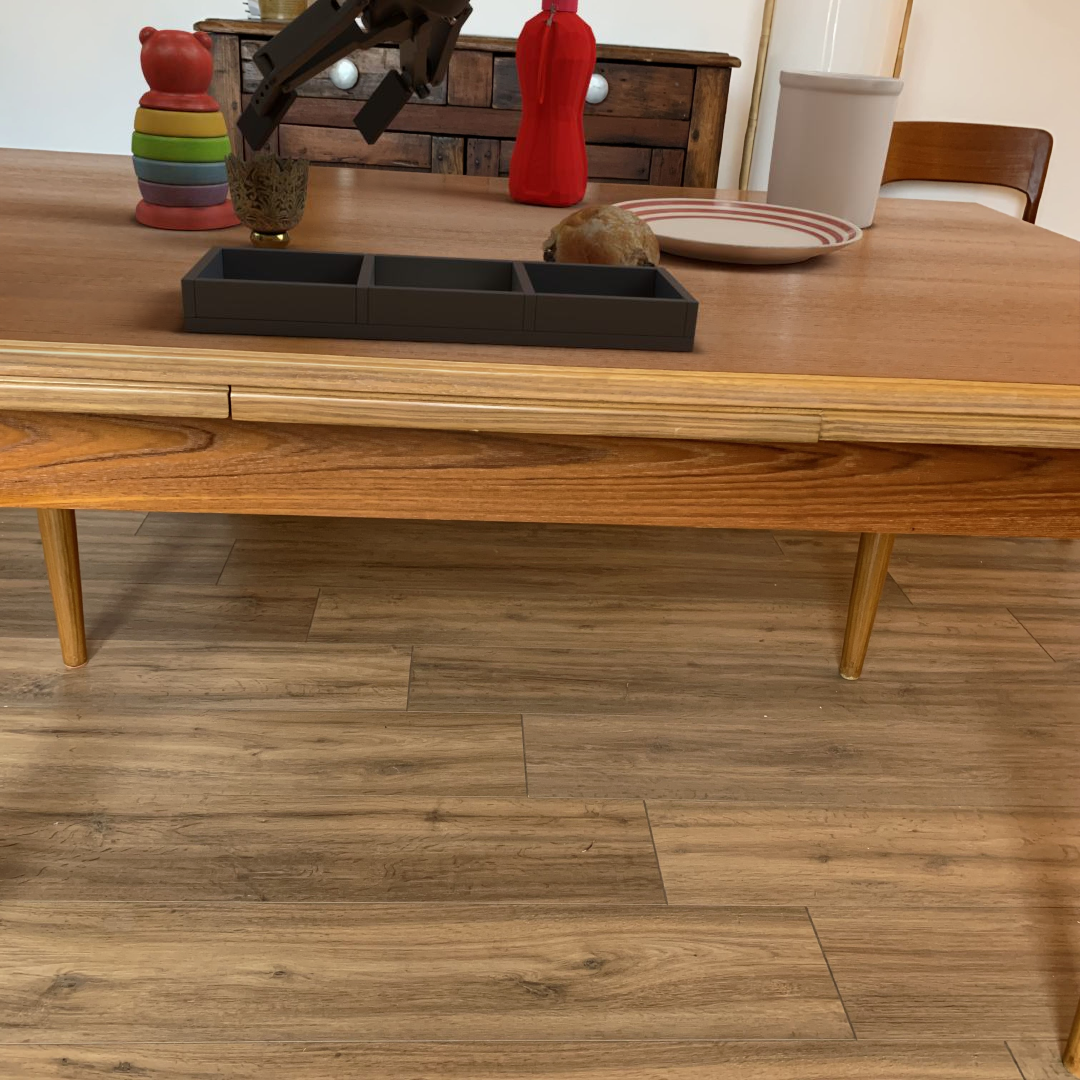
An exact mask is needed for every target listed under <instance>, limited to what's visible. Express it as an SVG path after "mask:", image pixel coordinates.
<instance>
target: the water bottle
mask: <svg viewBox="0 0 1080 1080" xmlns="http://www.w3.org/2000/svg"><path fill="white" fill-rule="evenodd" d="M578 8H579V0H541V8H540V10H541V11H540V12H538V13H537V14H535V15H533V16H532V17H531V18H530V19H528V20H527V21H525V22H524V24H523V26H522V29H521V31H520V33H519V35H518V37H517V42H516V51H515V63H516V71H517V76H518V77H517V78H518V83H519V89H520V90H519V91H520V97H521V120H520V124H519V127H518V131H517V135H516V139H515V142H514V147H513V151H512V153H511V157H510V161H509V173H508V192H509V196H510V197H511V199H512V200H513V201H515V202H518V203H523V204H529V205H537V206H538V205H539V206H548V207H559V208H564V207H570V206H572V205H575V204H578V203H580V202H583V200H584V198H585V196H586V191H587V189H588V188H587V187H588V175H589V174H588V173H589V165H588V164H589V163H588V155H587V148H586V140H585V133H584V132H585V131H584V123H583V117H584V111H585V104H586V99H587V96H588V92H589V88H590V85H591V81H592V77H593V73H594V69H595V66H596V62H597V39H596V36H595V34H594V31H593V29H592V26H591V25H590V24H589V23H587V22H586V21H585V20H584V19H583V18H582V17H580V16H579V14H578V10H579V9H578Z"/></svg>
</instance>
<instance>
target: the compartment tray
mask: <svg viewBox="0 0 1080 1080" xmlns="http://www.w3.org/2000/svg"><path fill="white" fill-rule="evenodd" d="M180 286H181V302H182V314H183V328H184V332H185V333H201V334H203V333H204V334H225V335H227V334H229V335H249V336H250V335H254V336H257V335H259V336H278V337H279V336H281V337H307V338H330V339H333V338H334V339H354V340H355V339H356V340H357V339H358V340H380V341H383V340H384V341H404V342H405V341H408V342H429V343H430V342H433V343H455V344H456V343H458V344H460V343H461V344H485V345H486V344H487V345H509V346H510V345H511V346H514V345H515V346H538V347H559V348H560V347H561V348H562V347H563V348H588V349H589V348H590V349H610V350H611V349H613V350H614V349H615V350H637V351H638V350H640V351H641V350H642V351H664V352H667V351H669V352H689V353H690V352H691V353H692V352H693V351H694V345H695V337H696V331H697V330H696V329H697V322H698V314H699V305H700V302H699V301H698V300H697V299H696V298H695V297H694V296H693V295H692V294H691V293H690V292H689V291H688V290H687V288H686V287H684V286H683V285H682V283H681V282H679V281H678V280H677V278H675V277H674V276H673V275H672V274H671V273H670V272H669V271H668V269H666V267H664V266H663V267H662V266H658V267H644V266H623V265H602V264H581V263H560V262H545V261H536V260H515V259H512V260H511V259H493V258H491V259H490V258H474V257H455V256H454V257H453V256H435V255H434V256H433V255H432V256H431V255H430V256H429V255H408V254H389V253H370V252H369V253H368V252H349V251H347V252H346V251H330V250H329V251H328V250H327V251H326V250H309V249H308V250H305V249H286V248H283V249H267V248H257V247H245V246H242V247H240V246H223V245H212V246H211V247H210V249H208V251H207V252H205V254H204V255H203V256H202V257H201V258H200V259H198V261H197V262H196V263H195V264H194V265H193V266H192V267H191V268H190V269H189V271H188V272H187V273H185V275H184V276H183V277H182V278H181V279H180Z"/></svg>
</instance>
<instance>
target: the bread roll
mask: <svg viewBox="0 0 1080 1080" xmlns="http://www.w3.org/2000/svg"><path fill="white" fill-rule="evenodd" d="M612 205H613V204H594V205H589V206H586V207H584V208H583V207H582V209H578V210H577V211H574V212H572V213H570V214H569V215H568V216H566V217H565V218H563V219H562V220H561V221H560V222H559V223H558V224H556V226H553V227H552V228H551V229H550V235H549V236H548V237H547V239H546V240H544V241H543V243H542V246H541V250H542V252H543V255H542V258H543V262H560V263H581V264H602V265H623V266H644V267H659V264H660V259H661V252H660V251H661V250H659V245H658V242H657V239H656V236H655V235H654V233H653V231H652V230H651V228H650V226H649V225H648V224H647V223H646V222H645V221H644V220H642V219H640V218H639V217H637V214H636V213H634V212H633V211H629V210H626V211H625V210H623V209H621V208H619V207H616V206H612Z"/></svg>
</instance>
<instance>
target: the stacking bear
mask: <svg viewBox="0 0 1080 1080" xmlns="http://www.w3.org/2000/svg"><path fill="white" fill-rule="evenodd" d="M138 41H139V43H140V44H141V48H140V52H139V53H140V55H139V62H140V68H141V73H142V75H143V77H144V80H145V82H146V84H147V85H148V87H149V90H148V91H146V92H144V93H143V94H142V96H141V97H140V98H139V100H138V104H139V106H138V107H137V108H136V110H135V114H134V119H133V120H134V121H133V129H134V130H133V131H132V132H131V133H132V134H131V148H130V151H131V153H132V156H131V159H132V165H133V169H134V173H135V176H136V178H137V185H138V188H139V192H140V195H141V197H142V199H140V201H138V202H137V204H136V206H135V219H136V220H137V221H138V222H140V223H141V224H143V225H145V226H148V227H152V228H157V229H165V230H177V231H205V230H215V229H221V228H222V229H223V228H224V229H225V228H228V227H233V226H238V225H239V224H242V223H241V222H240V221H239V219H238V218H237V216H236V214H235V212H234V209H233V205H232V201H231V198H228V192H229V184H228V178H227V171H226V165H225V161H224V157H225V155H226V156H227V159H228V155H229V154H230V153H233V151H232V145H231V140H230V137H229V136H228V135H227V134H228V129H227V125H226V120H225V117H224V114H223V113H222V112H221V111H220V105H219V103H217V101H216V99H214V97H212V96H211V95H209V94H208V93H207V91H208V90H209V88H210V86H211V83H212V81H213V80H212V79H213V74H214V60H213V57H212V53H211V49H212V47H213V41H212V38H211V36H210V35H209V34H208V33H207V32H206V31H203V30H197V31H195V32H193V33H192V32H189V31H186V30H180V29H160V30H158V29H156V28H155V27H153V26H145V27H143V28H141V29H140V31H139V32H138Z"/></svg>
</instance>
